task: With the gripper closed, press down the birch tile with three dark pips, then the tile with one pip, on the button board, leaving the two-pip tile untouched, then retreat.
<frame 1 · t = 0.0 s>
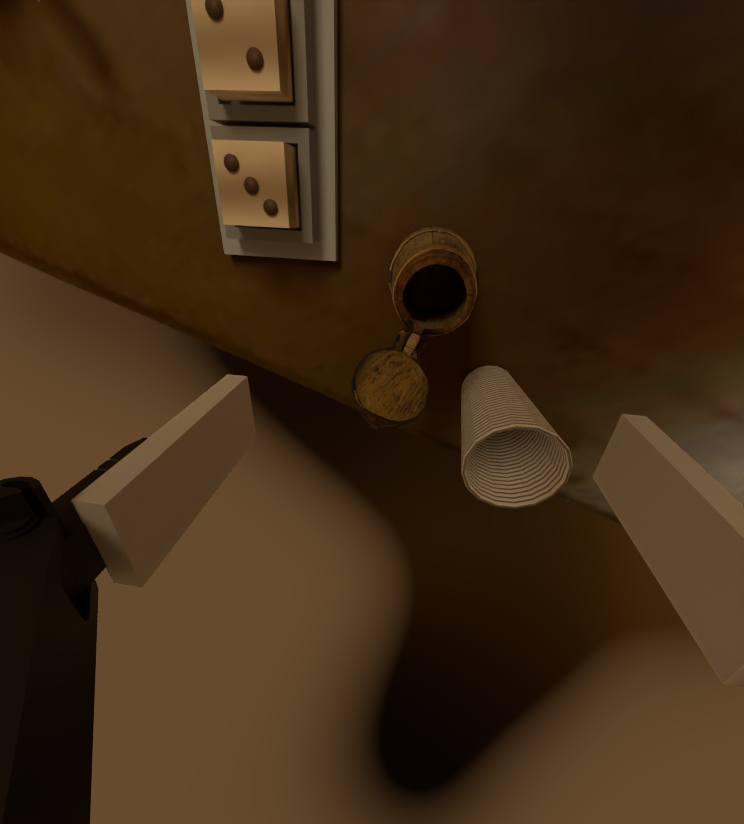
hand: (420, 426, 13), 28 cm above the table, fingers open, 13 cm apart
button board: (268, 65, 30), on the table
tile 3: (258, 186, 30), point 5 cm above the table, slide at 0.0 cm
tile 2: (244, 42, 26), point 5 cm above the table, slide at 0.0 cm
wooden mug: (420, 295, 37), on the table
cup: (486, 387, 42), on the table
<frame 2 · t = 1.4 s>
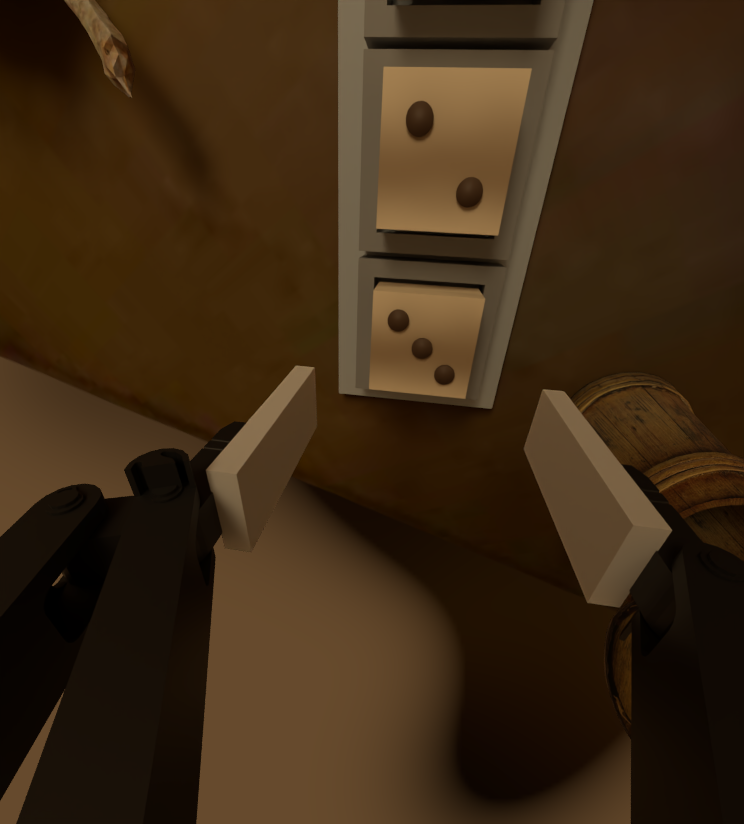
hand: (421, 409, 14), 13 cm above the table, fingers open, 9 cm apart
button board: (440, 171, 21), on the table
tile 3: (422, 340, 21), point 5 cm above the table, slide at 0.0 cm
tile 2: (443, 161, 17), point 5 cm above the table, slide at 0.0 cm
wooden mug: (592, 443, 29), on the table
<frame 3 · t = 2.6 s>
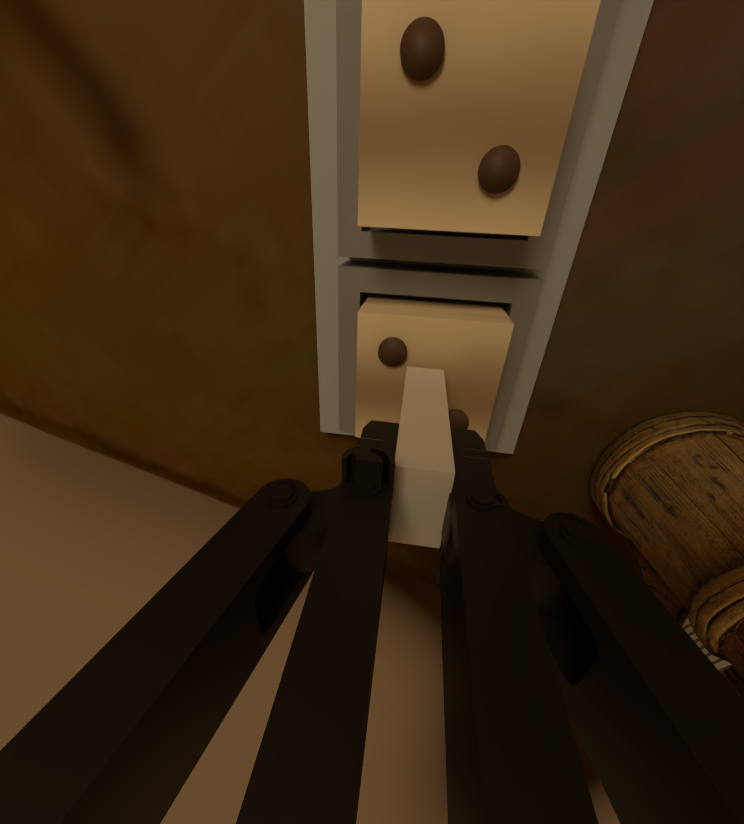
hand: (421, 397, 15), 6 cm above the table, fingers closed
button board: (450, 146, 15), on the table
tile 3: (425, 374, 16), point 4 cm above the table, slide at 0.4 cm, touching gripper
tile 2: (458, 124, 11), point 5 cm above the table, slide at 0.0 cm
wooden mug: (637, 493, 23), on the table
cup: (704, 603, 27), on the table
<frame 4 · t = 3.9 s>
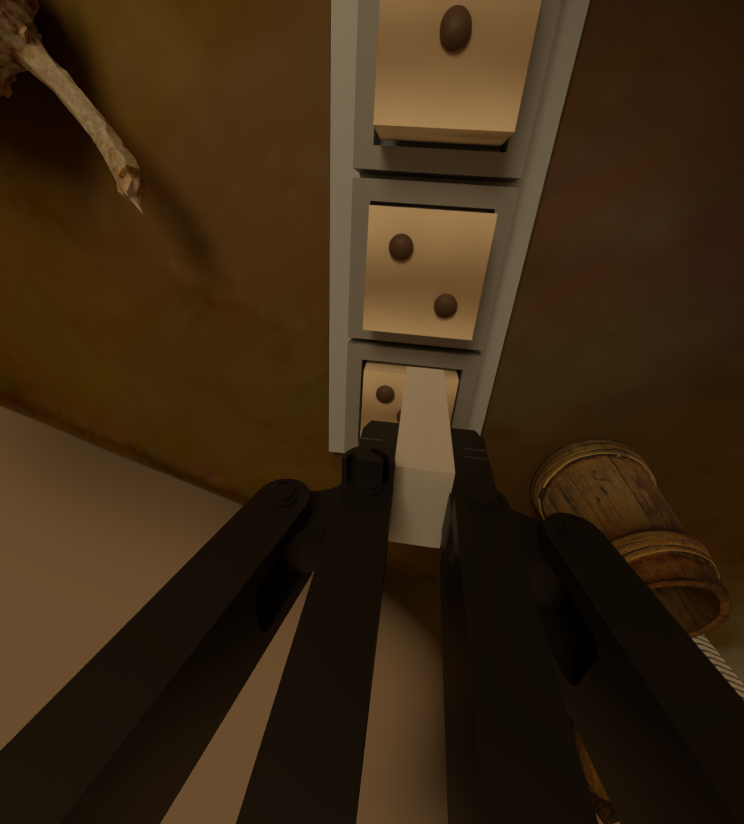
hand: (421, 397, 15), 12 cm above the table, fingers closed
button board: (423, 265, 23), on the table
tile 3: (406, 406, 25), point 3 cm above the table, slide at 1.5 cm
tile 2: (423, 273, 19), point 5 cm above the table, slide at 0.0 cm
wooden mug: (566, 499, 31), on the table
pine cone: (49, 52, 20), on the table
cup: (626, 587, 35), on the table
tile 1: (452, 46, 15), point 5 cm above the table, slide at 0.0 cm
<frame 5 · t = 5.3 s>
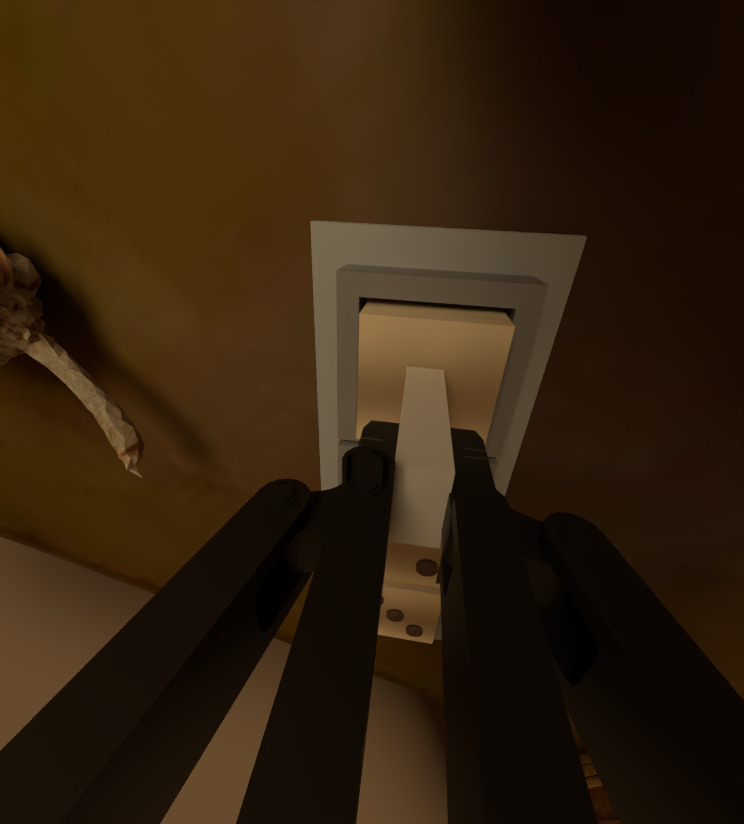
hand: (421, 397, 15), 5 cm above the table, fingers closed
button board: (410, 474, 24), on the table
tile 3: (396, 595, 26), point 3 cm above the table, slide at 1.5 cm
tile 2: (407, 526, 20), point 5 cm above the table, slide at 0.0 cm
wooden mug: (556, 646, 32), on the table
pine cone: (52, 302, 21), on the table
tile 1: (426, 376, 16), point 4 cm above the table, slide at 1.0 cm, touching gripper
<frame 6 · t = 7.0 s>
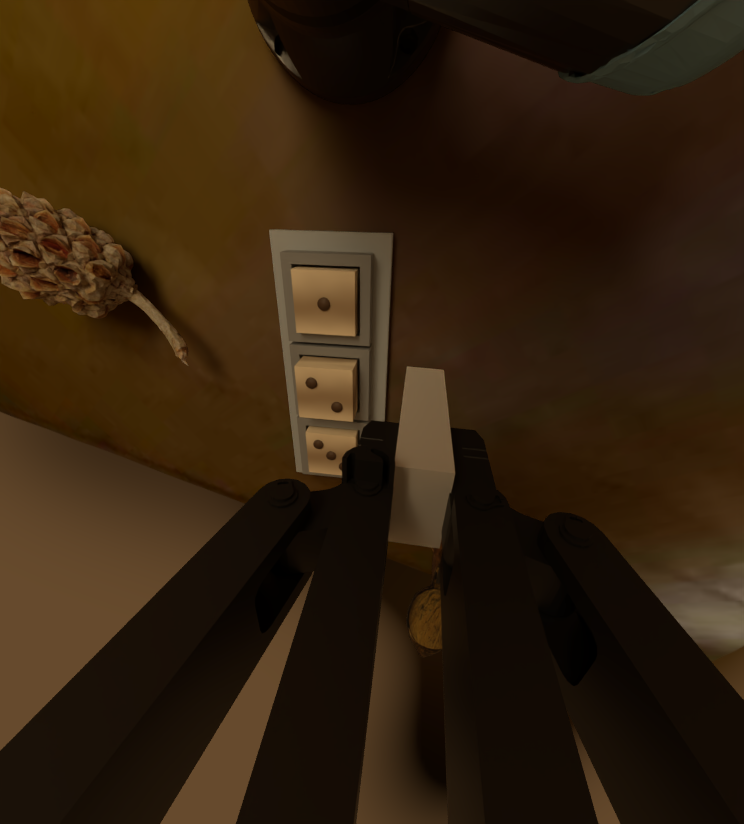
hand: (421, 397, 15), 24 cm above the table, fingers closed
button board: (337, 372, 42), on the table
tile 3: (334, 448, 43), point 3 cm above the table, slide at 1.5 cm
tile 2: (327, 389, 38), point 5 cm above the table, slide at 0.0 cm
wooden mug: (445, 497, 49), on the table
pine cone: (135, 277, 39), on the table
tile 1: (327, 300, 34), point 3 cm above the table, slide at 1.5 cm
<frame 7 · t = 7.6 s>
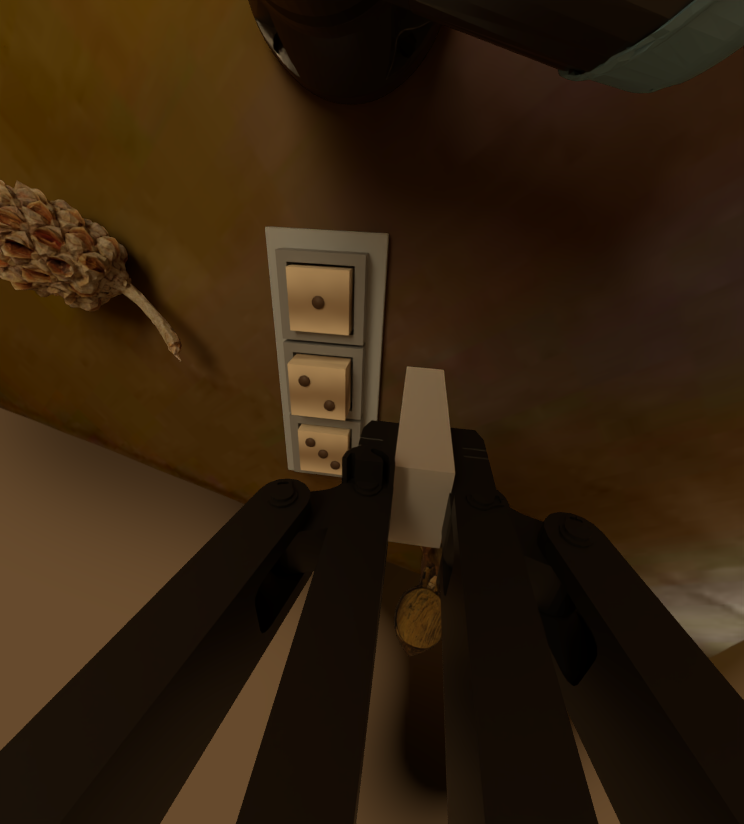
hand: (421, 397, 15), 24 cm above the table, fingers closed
button board: (330, 370, 42), on the table
tile 3: (326, 446, 44), point 3 cm above the table, slide at 1.5 cm
tile 2: (320, 387, 38), point 5 cm above the table, slide at 0.0 cm
wooden mug: (436, 497, 49), on the table
pine cone: (129, 270, 39), on the table
tile 1: (322, 299, 35), point 3 cm above the table, slide at 1.5 cm
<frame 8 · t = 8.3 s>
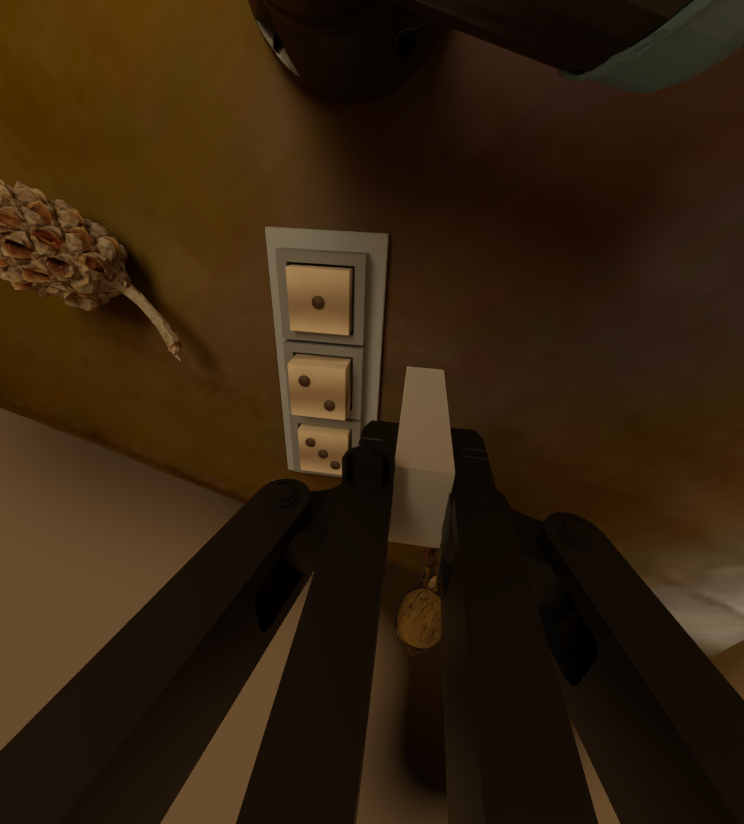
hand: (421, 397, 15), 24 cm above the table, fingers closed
button board: (330, 370, 42), on the table
tile 3: (325, 446, 44), point 3 cm above the table, slide at 1.5 cm
tile 2: (320, 387, 38), point 5 cm above the table, slide at 0.0 cm
wooden mug: (436, 497, 49), on the table
pine cone: (129, 270, 39), on the table
tile 1: (322, 299, 35), point 3 cm above the table, slide at 1.5 cm
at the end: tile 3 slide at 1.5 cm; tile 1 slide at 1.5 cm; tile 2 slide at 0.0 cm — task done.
